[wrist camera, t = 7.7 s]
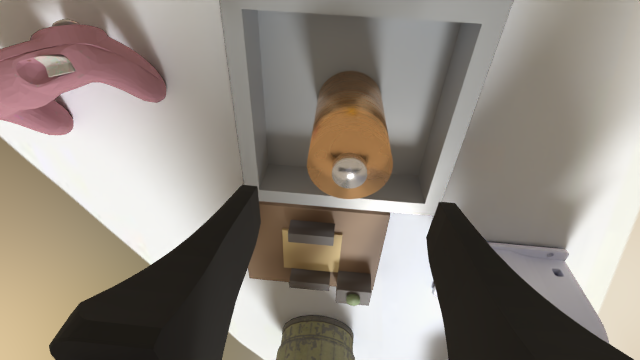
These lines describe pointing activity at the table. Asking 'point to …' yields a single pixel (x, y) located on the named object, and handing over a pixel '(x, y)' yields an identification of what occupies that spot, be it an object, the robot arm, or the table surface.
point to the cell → (350, 138)
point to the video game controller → (68, 74)
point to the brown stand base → (320, 248)
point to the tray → (371, 59)
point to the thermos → (316, 339)
